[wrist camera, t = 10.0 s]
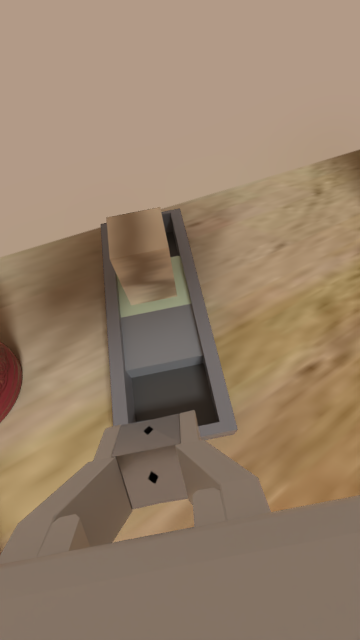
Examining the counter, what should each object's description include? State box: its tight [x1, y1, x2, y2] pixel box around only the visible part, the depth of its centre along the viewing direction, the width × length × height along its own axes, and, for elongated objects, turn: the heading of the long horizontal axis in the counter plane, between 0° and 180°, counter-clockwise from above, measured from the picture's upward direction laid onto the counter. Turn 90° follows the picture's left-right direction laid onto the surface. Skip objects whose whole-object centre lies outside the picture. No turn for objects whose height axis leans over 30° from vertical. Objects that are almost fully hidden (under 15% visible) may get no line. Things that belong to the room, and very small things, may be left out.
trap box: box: [101, 209, 238, 440], centre depth 36 cm, size 12×32×4 cm, turn 10°
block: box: [107, 207, 177, 305], centre depth 34 cm, size 6×6×9 cm
